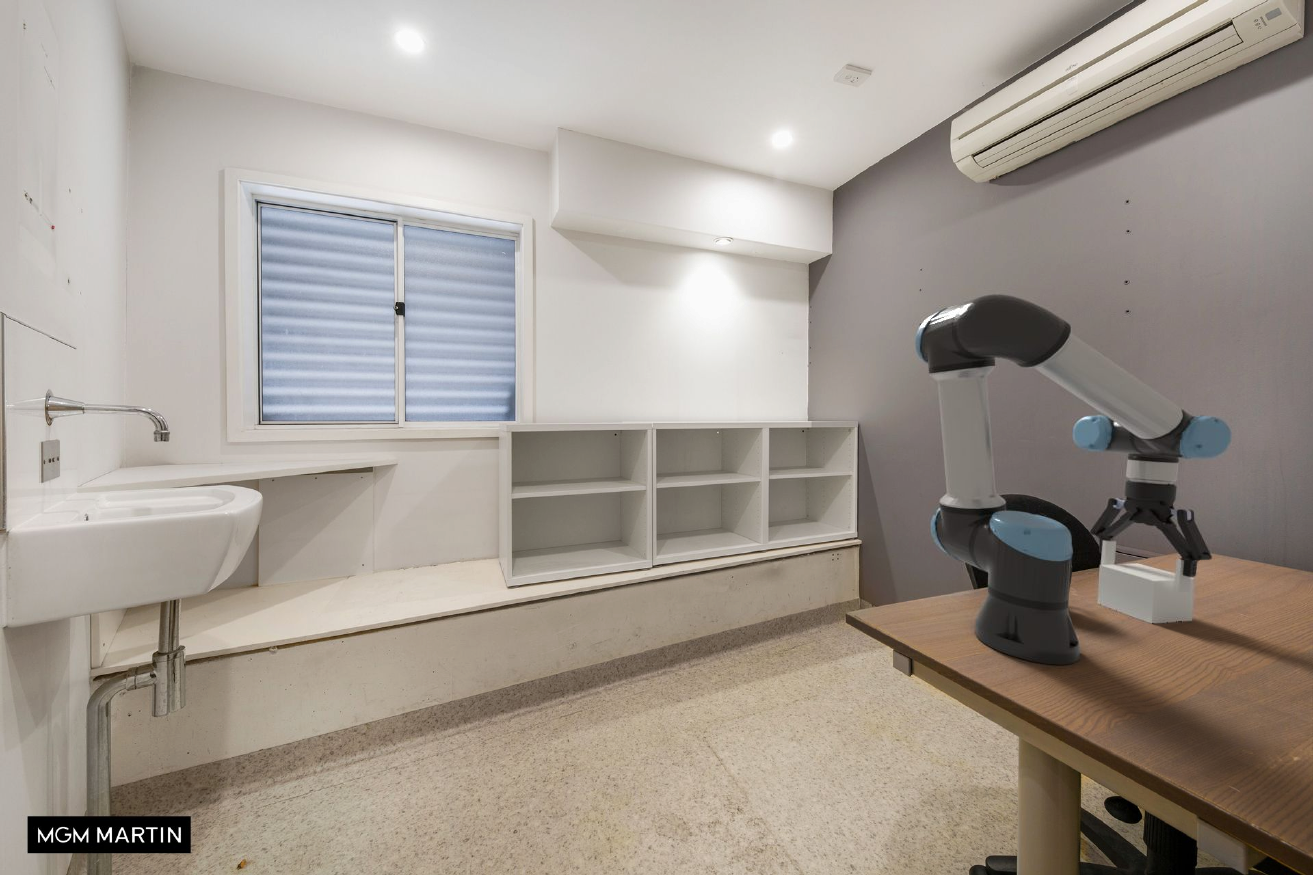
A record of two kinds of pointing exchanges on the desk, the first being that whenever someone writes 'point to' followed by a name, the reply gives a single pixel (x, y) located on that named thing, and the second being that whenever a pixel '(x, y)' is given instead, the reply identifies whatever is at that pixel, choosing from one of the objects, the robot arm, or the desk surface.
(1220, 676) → the desk surface
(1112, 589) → the white rectangular brick
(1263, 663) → the desk surface
